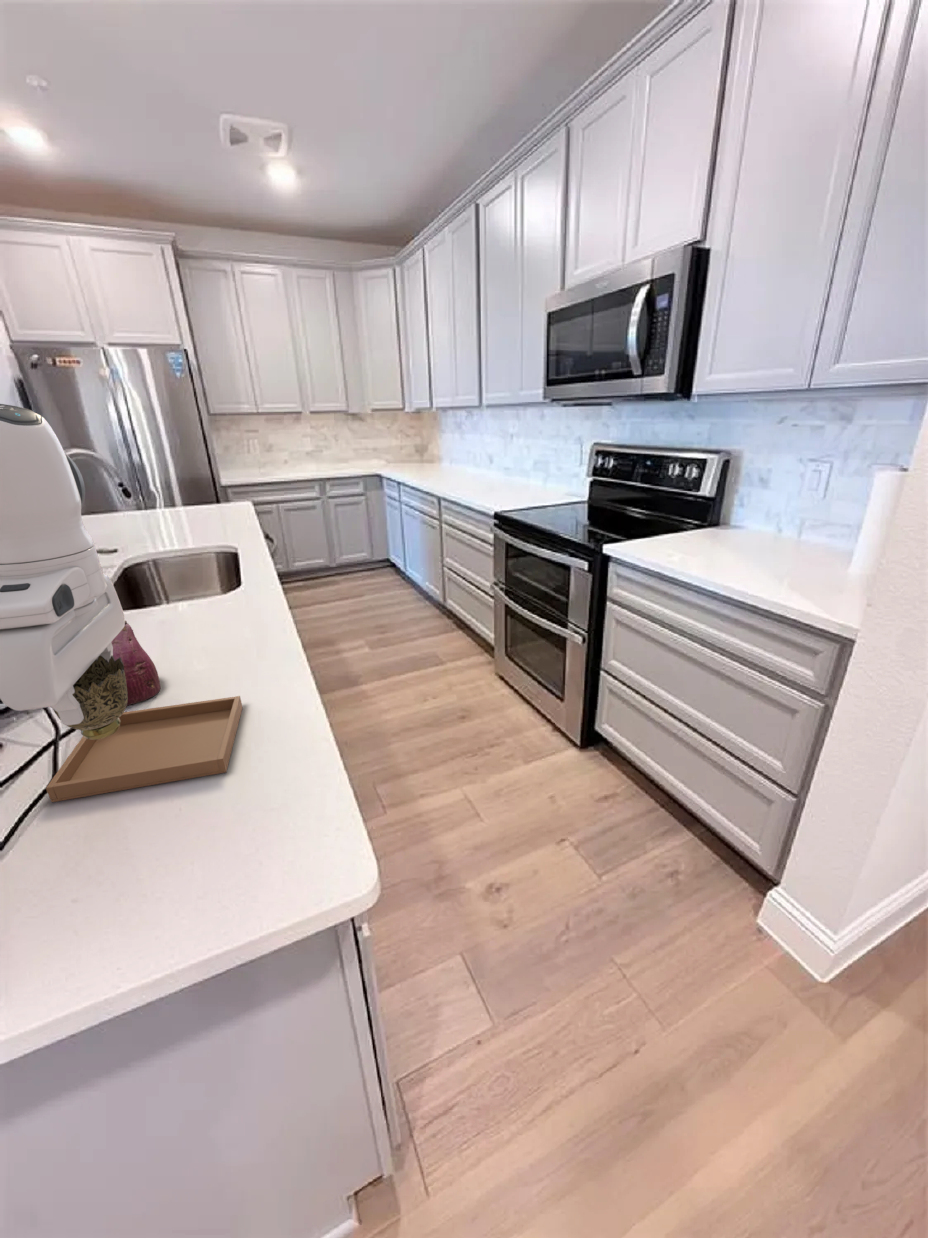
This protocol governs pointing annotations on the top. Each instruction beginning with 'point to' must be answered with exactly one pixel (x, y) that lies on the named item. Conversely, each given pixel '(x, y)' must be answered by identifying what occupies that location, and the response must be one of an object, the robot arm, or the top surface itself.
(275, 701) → the top surface
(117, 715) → the cup
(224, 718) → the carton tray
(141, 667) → the vegetable
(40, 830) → the top surface
